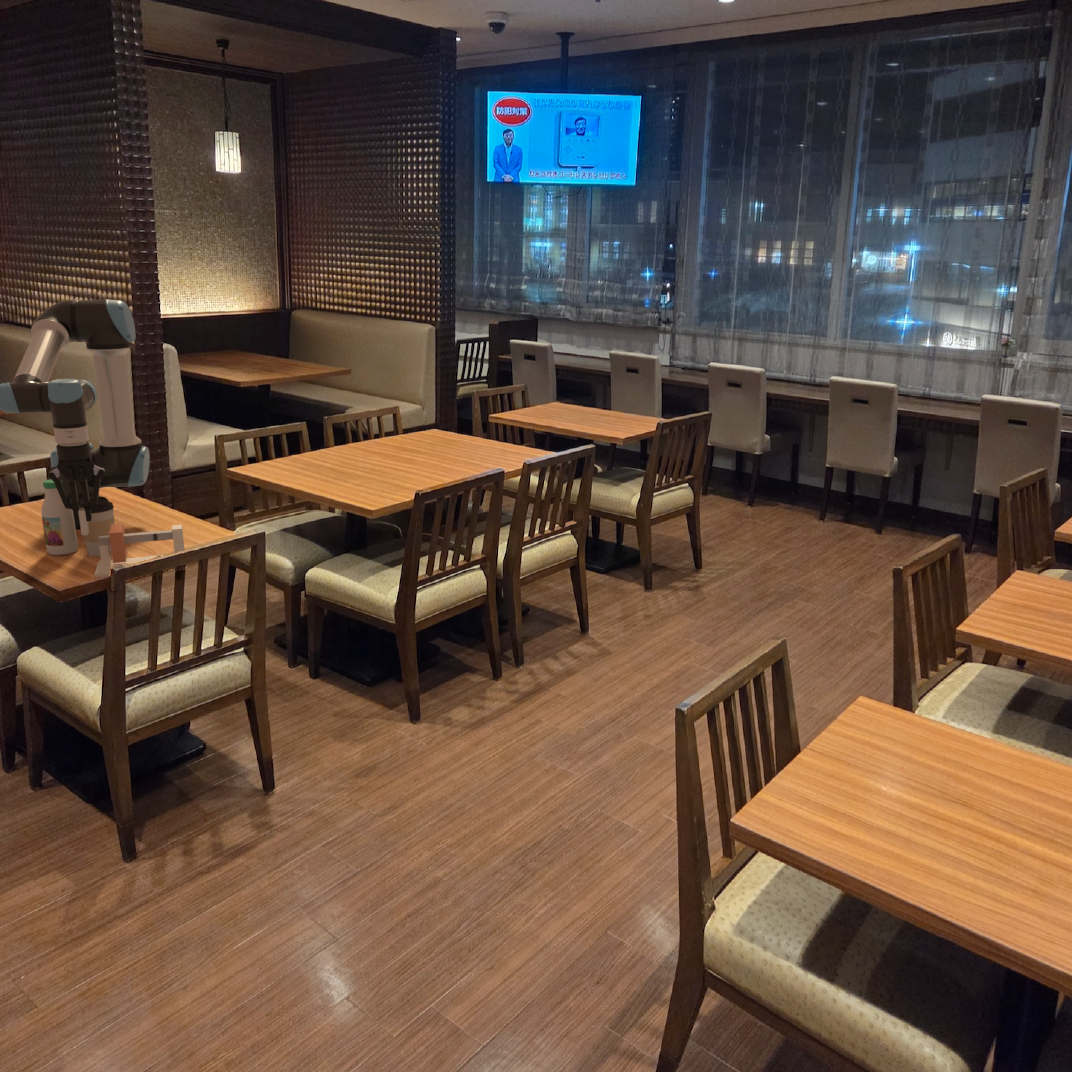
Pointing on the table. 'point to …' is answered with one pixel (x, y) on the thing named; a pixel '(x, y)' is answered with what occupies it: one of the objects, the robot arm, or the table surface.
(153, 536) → the rail
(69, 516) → the milk bottle
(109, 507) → the coffee cup
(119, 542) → the notched orange block
